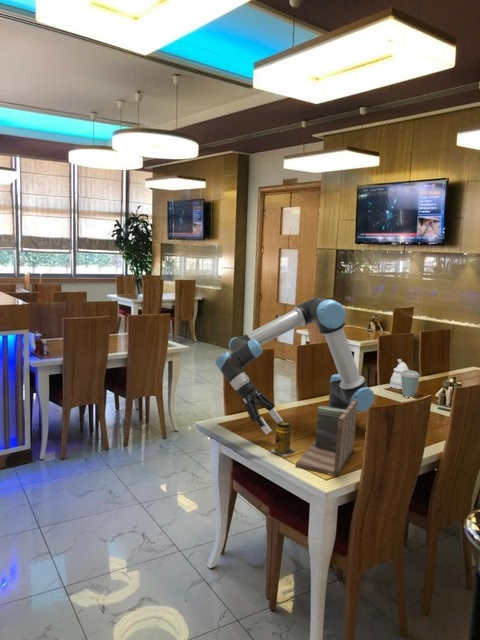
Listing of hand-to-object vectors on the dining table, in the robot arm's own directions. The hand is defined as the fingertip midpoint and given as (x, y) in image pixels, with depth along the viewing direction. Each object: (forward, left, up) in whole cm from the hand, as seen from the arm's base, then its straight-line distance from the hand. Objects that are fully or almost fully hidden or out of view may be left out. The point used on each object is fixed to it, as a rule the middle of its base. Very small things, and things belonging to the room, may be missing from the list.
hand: (274, 427), depth 201 cm
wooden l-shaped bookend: (-18, +11, -9) cm, 23 cm away
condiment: (-4, +2, -10) cm, 10 cm away
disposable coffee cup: (-107, -63, -10) cm, 124 cm away
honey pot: (-114, -81, -10) cm, 140 cm away
